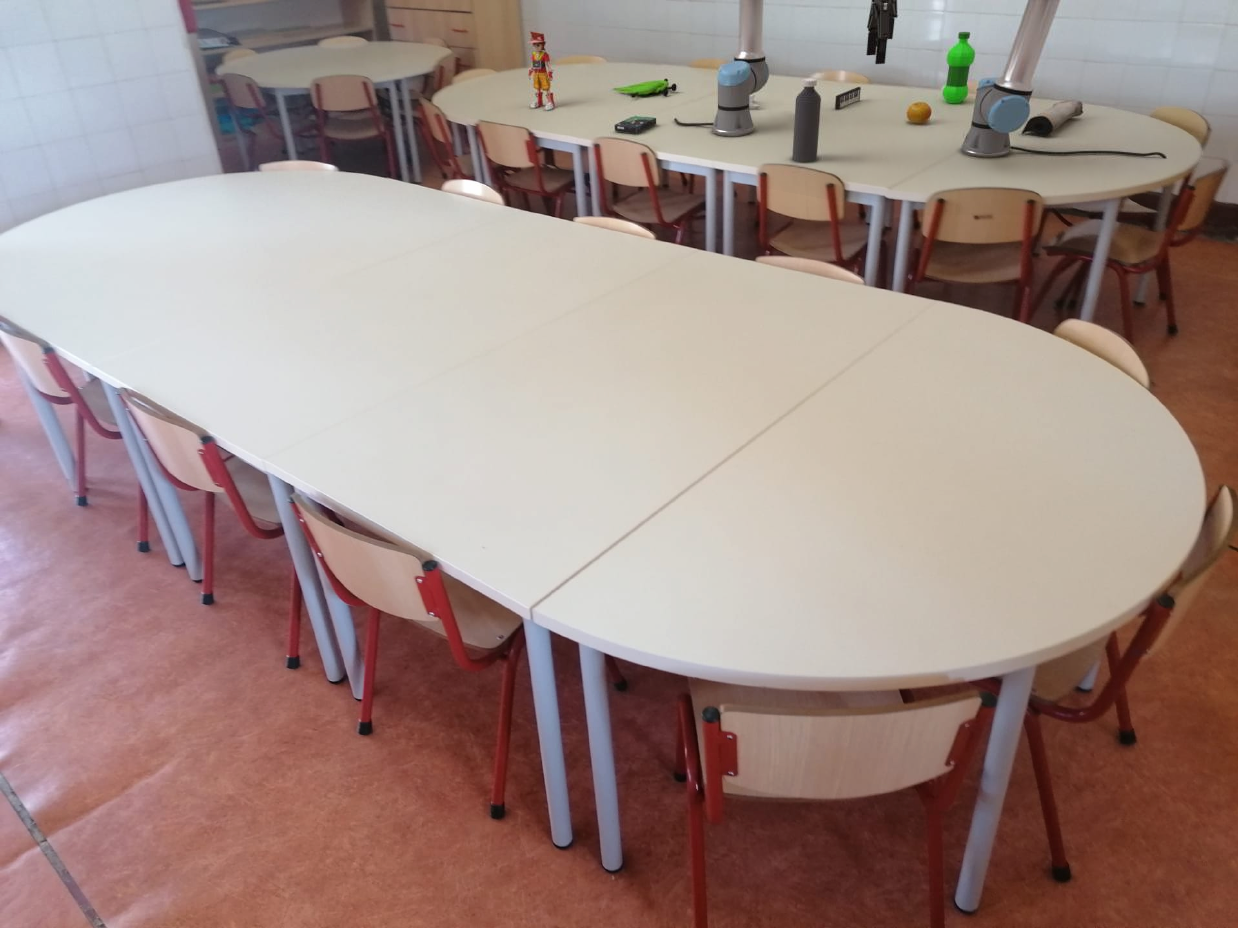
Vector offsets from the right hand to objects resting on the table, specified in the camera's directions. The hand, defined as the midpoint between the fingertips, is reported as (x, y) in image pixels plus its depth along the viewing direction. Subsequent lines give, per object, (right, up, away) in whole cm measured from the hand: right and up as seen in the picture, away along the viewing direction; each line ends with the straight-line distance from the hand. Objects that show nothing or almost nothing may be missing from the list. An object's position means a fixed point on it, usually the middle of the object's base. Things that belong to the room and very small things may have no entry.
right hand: (875, 59), depth 275 cm
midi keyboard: (+13, +20, +85) cm, 88 cm away
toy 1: (-112, +28, +108) cm, 158 cm away
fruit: (+32, +3, +58) cm, 66 cm away
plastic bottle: (+54, +19, +80) cm, 98 cm away
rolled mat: (+76, -4, +45) cm, 89 cm away
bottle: (-16, -21, +29) cm, 39 cm away
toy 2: (-69, +41, +122) cm, 146 cm away
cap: (-17, 0, +14) cm, 22 cm away
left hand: (+11, +20, +32) cm, 39 cm away
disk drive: (-72, +6, +72) cm, 102 cm away
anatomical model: (-28, +22, +92) cm, 99 cm away
